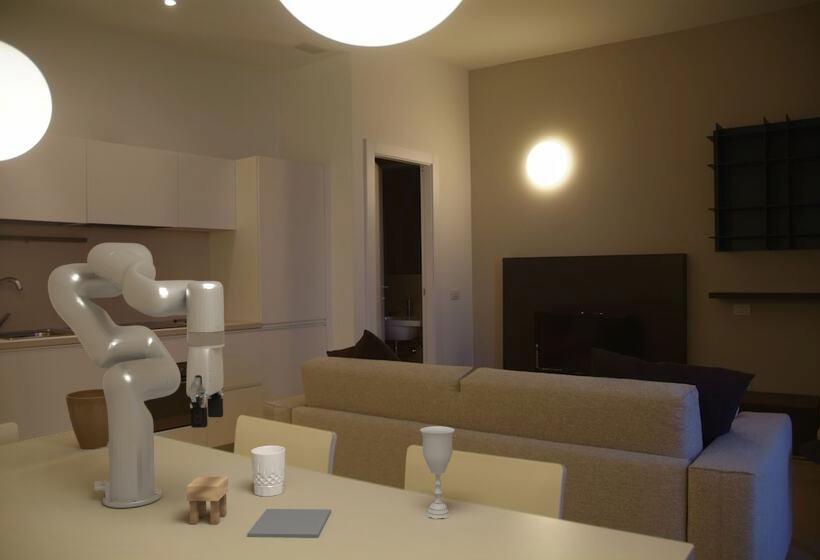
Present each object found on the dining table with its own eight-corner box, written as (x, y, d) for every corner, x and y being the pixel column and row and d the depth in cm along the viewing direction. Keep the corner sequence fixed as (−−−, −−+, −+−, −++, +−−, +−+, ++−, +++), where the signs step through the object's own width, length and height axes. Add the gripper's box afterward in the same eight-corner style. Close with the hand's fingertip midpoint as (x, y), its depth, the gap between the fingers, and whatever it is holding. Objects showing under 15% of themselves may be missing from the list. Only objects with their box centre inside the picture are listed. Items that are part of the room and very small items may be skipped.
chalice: (459, 511, 149) (458, 427, 149) (450, 522, 143) (449, 434, 143) (426, 508, 152) (425, 425, 151) (416, 518, 145) (415, 432, 145)
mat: (247, 536, 137) (247, 533, 137) (266, 511, 151) (266, 508, 151) (318, 537, 136) (318, 534, 136) (331, 512, 150) (331, 509, 150)
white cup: (278, 498, 159) (277, 454, 159) (246, 496, 161) (245, 453, 161) (291, 487, 167) (290, 446, 167) (260, 486, 169) (259, 444, 168)
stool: (187, 524, 144) (186, 486, 143) (198, 513, 150) (198, 476, 150) (218, 525, 143) (217, 486, 143) (228, 514, 150) (228, 476, 149)
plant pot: (55, 451, 203) (54, 397, 203) (87, 439, 218) (86, 388, 217) (102, 453, 200) (101, 397, 200) (131, 440, 215) (130, 388, 215)
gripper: (202, 336, 155) (204, 413, 155) (171, 344, 138) (173, 431, 138) (236, 335, 154) (238, 413, 155) (209, 344, 137) (211, 431, 137)
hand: (207, 421), depth 146 cm, fingers open, 9 cm apart
